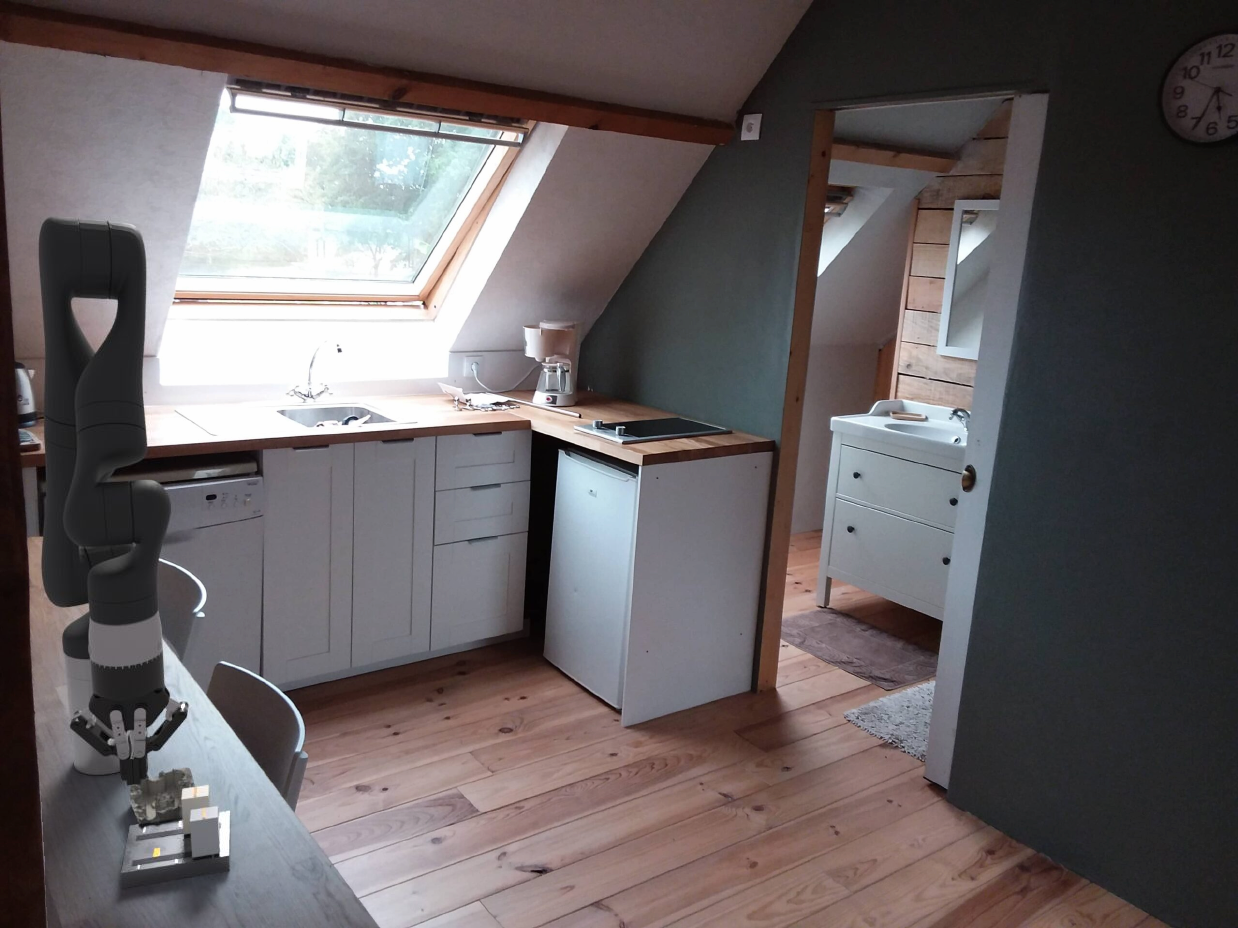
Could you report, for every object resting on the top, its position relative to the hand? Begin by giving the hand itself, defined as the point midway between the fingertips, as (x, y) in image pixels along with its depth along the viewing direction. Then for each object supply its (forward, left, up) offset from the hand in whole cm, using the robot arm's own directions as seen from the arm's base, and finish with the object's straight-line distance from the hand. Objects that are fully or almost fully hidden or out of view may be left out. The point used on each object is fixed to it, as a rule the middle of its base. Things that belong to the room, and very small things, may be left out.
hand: (134, 780), depth 118 cm
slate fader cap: (+5, +8, -7) cm, 12 cm away
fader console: (+2, +4, -10) cm, 11 cm away
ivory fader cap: (0, +7, -7) cm, 10 cm away
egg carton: (-8, +2, -10) cm, 13 cm away
